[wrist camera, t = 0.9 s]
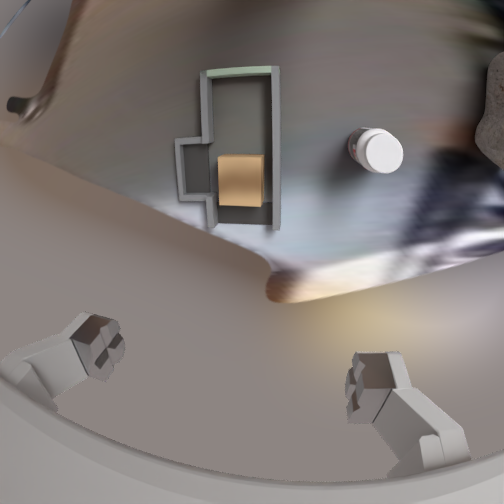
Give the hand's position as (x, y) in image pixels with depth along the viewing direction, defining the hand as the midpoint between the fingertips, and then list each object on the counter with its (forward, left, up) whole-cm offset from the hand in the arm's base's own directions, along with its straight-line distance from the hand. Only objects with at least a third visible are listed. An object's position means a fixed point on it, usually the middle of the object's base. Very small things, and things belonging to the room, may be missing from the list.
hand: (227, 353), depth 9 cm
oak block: (+1, -6, -36) cm, 37 cm away
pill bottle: (-4, +12, -36) cm, 38 cm away
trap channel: (-3, -9, -36) cm, 37 cm away
